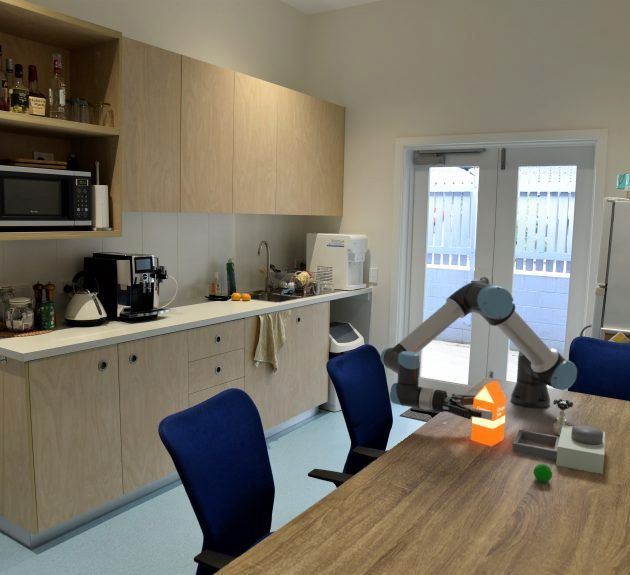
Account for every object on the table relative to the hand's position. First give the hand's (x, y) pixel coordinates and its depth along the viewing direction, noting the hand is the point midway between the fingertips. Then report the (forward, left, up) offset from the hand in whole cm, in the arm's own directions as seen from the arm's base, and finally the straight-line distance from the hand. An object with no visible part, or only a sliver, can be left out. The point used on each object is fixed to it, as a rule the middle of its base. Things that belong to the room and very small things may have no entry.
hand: (496, 410), depth 201 cm
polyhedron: (+25, +18, -11) cm, 32 cm away
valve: (-18, +20, -11) cm, 29 cm away
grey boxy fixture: (0, +20, -11) cm, 23 cm away
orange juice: (0, -2, -11) cm, 11 cm away
